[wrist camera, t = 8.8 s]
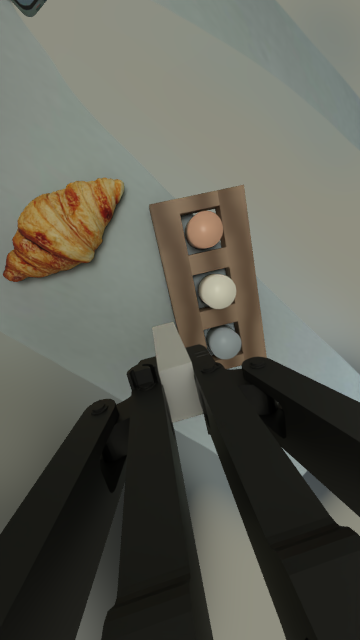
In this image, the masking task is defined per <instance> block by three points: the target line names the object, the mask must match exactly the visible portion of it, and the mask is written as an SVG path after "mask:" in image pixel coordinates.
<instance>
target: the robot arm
mask: <svg viewBox="0 0 360 640" xmlns="http://www.w3.org/2000/svg"><path fill="white" fill-rule="evenodd" d="M152 329H153V337H154V344H155V352H156V356H155V357H151V358H148V359H144V360H141V361H140V362H139V363H138V365H136V366H134V367H132V368H131V369H130V370H129V371H128V372H127V377H128V380H129V383H130V386H131V389H132V395H131V397H129V398H128V399H126V400H125V401H123V402H121V403H119V404H117V405H116V403H115V401H114V400H112V399H103V400H99V401H97V402H94V403H93V404H92V405H90V406H89V407H88V408H87V409H86V410H85V411H84V412H83V414H82V416H81V417H80V418H79V420H78V421H77V423H76V424H75V426H74V427H73V429H72V430H71V431H70V433H69V434H68V436H67V437H66V439H65V440H64V442H63V443H62V445H61V446H60V448H59V449H58V451H57V452H56V453H55V455H54V456H53V458H52V460H51V461H50V462H49V464H48V465H47V467H46V468H45V470H44V471H43V473H42V474H41V476H40V477H39V479H38V480H37V481H36V483H35V484H34V486H33V487H32V489H31V490H30V492H29V493H28V495H27V496H26V497H25V499H24V501H23V502H22V503H21V505H20V506H19V508H18V509H17V511H16V512H15V514H14V515H13V517H12V518H11V519H10V521H9V522H8V524H7V525H6V527H5V528H4V530H3V531H2V533H1V534H0V640H75V638H76V635H77V632H78V629H79V626H80V622H81V619H82V616H83V613H84V610H85V607H86V603H87V600H88V596H89V594H90V591H91V588H92V584H93V581H94V578H95V574H96V572H97V569H98V565H99V562H100V559H101V556H102V553H103V549H104V546H105V543H106V540H107V537H108V534H109V530H110V527H111V524H112V521H113V518H114V514H115V511H116V508H117V505H118V502H119V499H120V496H121V492H122V489H123V486H124V483H125V493H124V507H123V523H122V536H121V550H120V565H119V578H118V591H117V599H116V602H115V605H114V606H113V607H112V608H111V609H110V610H109V611H108V612H107V616H106V619H105V622H104V626H103V632H102V639H101V640H213V636H212V630H211V625H210V619H209V614H208V609H207V603H206V598H205V593H204V587H203V582H202V577H201V571H200V566H199V560H198V555H197V550H196V545H195V539H194V533H193V529H192V523H191V517H190V512H189V506H188V501H187V496H186V491H185V485H184V479H183V474H182V469H181V463H180V458H179V453H178V447H177V442H176V437H175V431H174V427H173V424H172V423H173V422H177V421H180V420H184V419H187V418H191V417H194V416H198V415H201V414H203V413H204V417H205V421H206V426H207V430H208V435H209V434H210V435H211V437H212V440H213V443H214V445H215V448H216V451H217V453H218V456H219V459H220V461H221V464H222V467H223V470H224V472H225V475H226V477H227V480H228V483H229V485H230V488H231V491H232V494H233V496H234V499H235V502H236V504H237V507H238V510H239V512H240V515H241V518H242V520H243V523H244V526H245V528H246V531H247V534H248V537H249V539H250V542H251V544H252V547H253V550H254V552H255V555H256V558H257V561H258V563H259V566H260V569H261V571H262V574H263V577H264V580H265V582H266V585H267V587H268V590H269V593H270V596H271V598H272V601H273V604H274V606H275V609H276V612H277V614H278V617H279V619H280V623H281V625H282V628H283V631H284V634H285V637H286V640H360V536H359V535H358V534H357V533H356V532H355V531H353V530H352V529H351V528H350V527H344V526H339V525H338V524H337V523H336V522H335V521H334V520H333V519H332V517H331V516H330V515H329V514H328V512H327V511H326V509H325V508H324V507H323V505H322V504H321V502H320V501H319V499H318V498H317V497H316V495H315V494H314V492H313V491H312V490H311V488H310V487H309V485H308V484H307V483H306V481H305V480H304V478H303V477H302V476H301V474H300V473H299V471H298V470H297V469H296V467H295V466H294V464H293V463H292V462H291V460H290V459H289V457H288V456H287V455H286V453H285V452H284V450H285V451H286V452H288V453H289V454H290V455H291V456H292V457H293V458H294V459H295V460H297V461H298V462H299V463H300V464H301V465H302V466H303V467H304V468H305V469H307V470H308V471H309V472H310V473H311V474H312V475H313V476H315V477H316V478H317V479H318V480H319V481H320V482H321V483H322V484H323V485H324V486H326V487H327V488H328V489H329V490H330V491H331V492H332V493H333V494H335V495H336V496H337V497H338V498H339V499H340V500H341V501H342V502H344V503H345V504H346V505H347V506H348V507H349V508H350V509H351V510H353V511H354V512H355V513H356V514H357V515H358V516H359V517H360V402H358V401H356V400H354V399H351V398H349V397H347V396H345V395H343V394H341V393H339V392H337V391H335V390H333V389H331V388H329V387H327V386H325V385H323V384H321V383H318V382H316V381H314V380H312V379H310V378H308V377H306V376H304V375H302V374H300V373H298V372H296V371H294V370H292V369H290V368H287V367H285V366H283V365H281V364H279V363H277V362H275V361H273V360H271V359H269V358H265V357H259V356H258V357H252V358H249V359H246V360H245V361H243V363H242V369H235V370H228V369H225V368H224V366H223V365H222V364H221V363H218V362H215V360H214V359H213V357H212V356H211V355H210V353H209V352H208V350H207V349H206V347H205V346H203V345H200V344H198V345H194V346H190V347H186V348H185V347H184V344H183V342H182V340H181V338H180V336H179V333H178V331H177V329H176V327H175V325H174V322H170V323H167V324H163V325H159V326H155V327H152ZM202 409H203V410H202ZM281 447H282V448H283V449H284V450H283V449H282V448H281Z"/></svg>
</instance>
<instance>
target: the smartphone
mask: <svg viewBox="0 0 360 640" xmlns="http://www.w3.org/2000/svg"><path fill="white" fill-rule="evenodd" d="M11 1H12V2H13V3H14V4H15V5H16V6H17V7H18V9H19V10H20V11H21V12H22V13H23V14H24V15H26V16H28V17H33V16H34V15H35V14H36V13H37V12H38V11H39V9H40V8H41V7H42V6H43V4H44V3H45V2H46V1H47V0H11Z"/></svg>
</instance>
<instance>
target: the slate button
mask: <svg viewBox="0 0 360 640" xmlns="http://www.w3.org/2000/svg"><path fill="white" fill-rule="evenodd" d="M206 340H207V344H208V346H209V348H210V349H211V351H212V352H213V353H214V355H215V356H216V357H218V358H220V359H230V358H233V357H234V356H236V355H237V354H238V352H239V351H240V348H241V339H240V337H239V335H238V334H237V333H236V332H234V331H233V330H232V329H231V328H230V327H228V326H226V325H220V326H216V327H213V328H211V329H210V331H209V332H208V334H207V338H206Z"/></svg>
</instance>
